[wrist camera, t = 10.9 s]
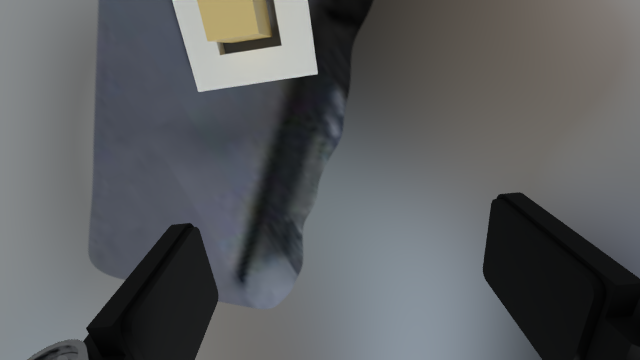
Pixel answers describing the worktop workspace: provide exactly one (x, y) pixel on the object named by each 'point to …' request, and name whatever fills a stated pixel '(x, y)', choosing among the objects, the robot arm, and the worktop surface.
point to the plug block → (235, 20)
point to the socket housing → (250, 48)
